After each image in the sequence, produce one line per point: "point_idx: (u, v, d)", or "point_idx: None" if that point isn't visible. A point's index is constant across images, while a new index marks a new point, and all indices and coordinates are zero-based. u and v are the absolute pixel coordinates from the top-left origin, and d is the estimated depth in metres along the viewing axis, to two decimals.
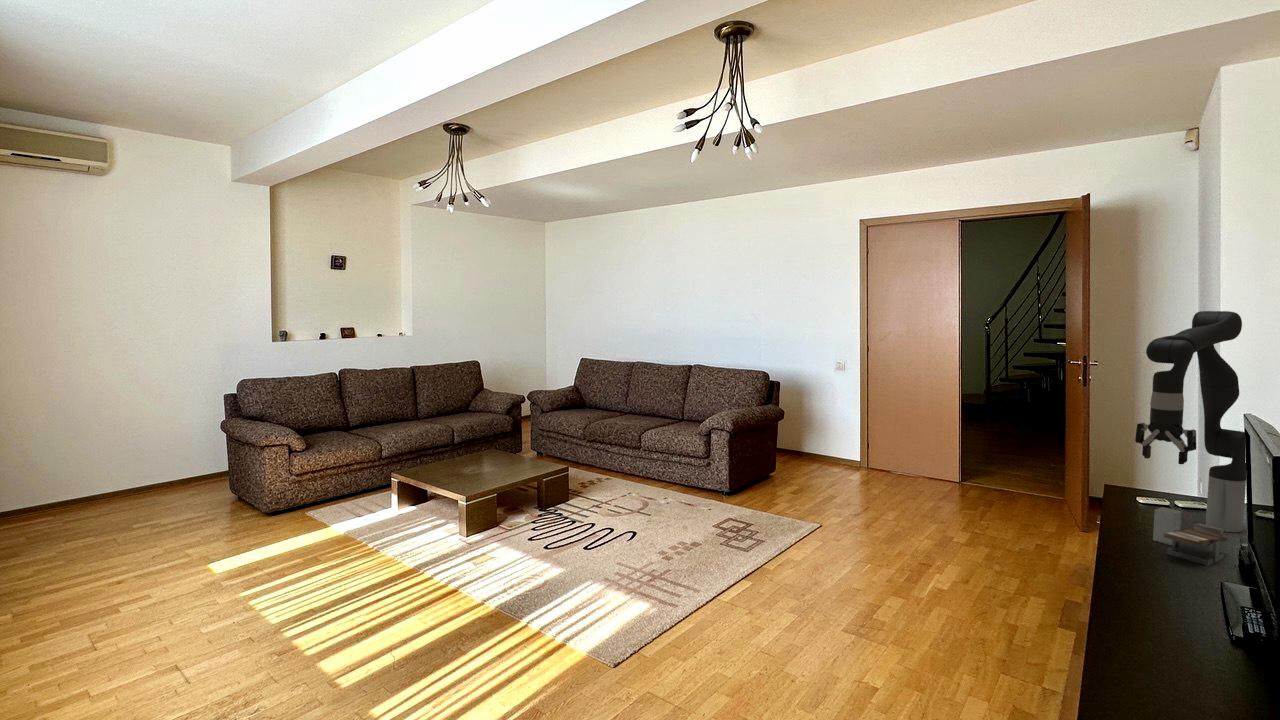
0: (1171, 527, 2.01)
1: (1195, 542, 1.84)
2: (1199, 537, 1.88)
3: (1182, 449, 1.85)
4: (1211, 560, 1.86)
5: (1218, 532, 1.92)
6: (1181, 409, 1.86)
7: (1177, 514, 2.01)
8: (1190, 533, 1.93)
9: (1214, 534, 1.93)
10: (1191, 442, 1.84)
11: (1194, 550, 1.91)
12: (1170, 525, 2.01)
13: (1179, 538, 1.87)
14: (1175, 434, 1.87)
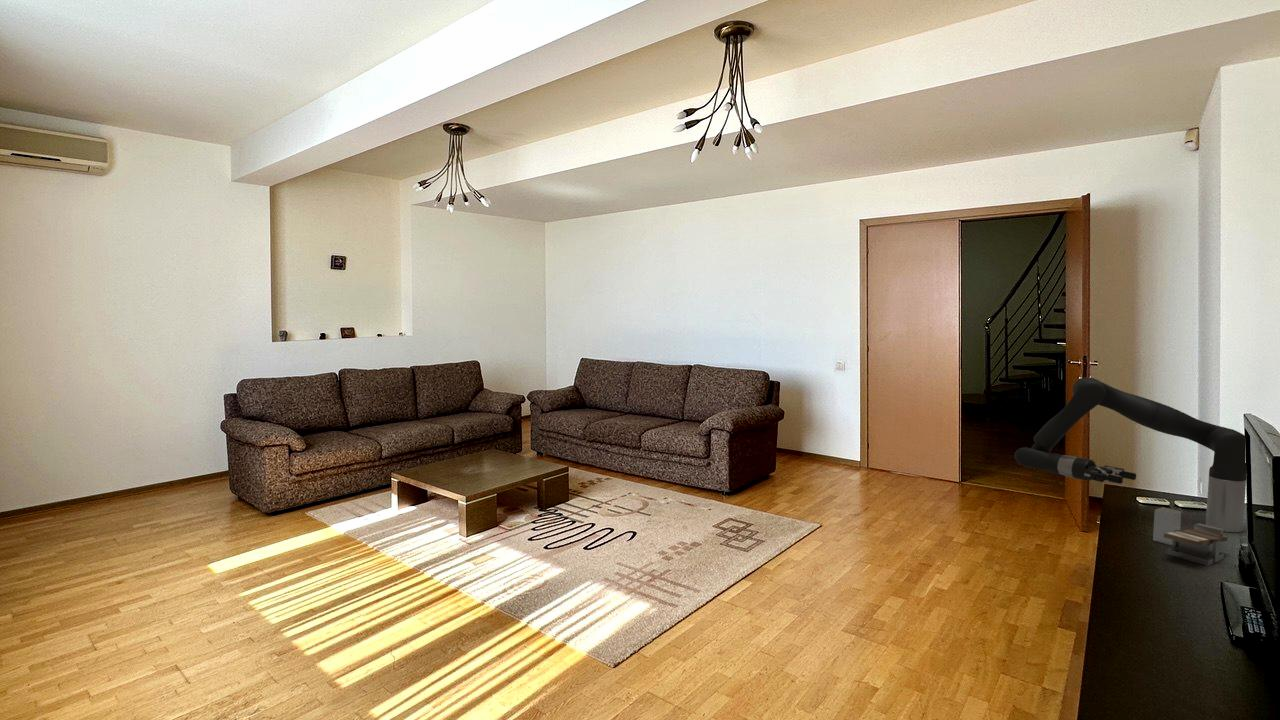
0: (1171, 527, 2.01)
1: (1195, 542, 1.84)
2: (1199, 537, 1.88)
3: (1105, 481, 2.14)
4: (1211, 560, 1.86)
5: (1218, 532, 1.92)
6: (1070, 470, 2.24)
7: (1177, 514, 2.01)
8: (1190, 533, 1.93)
9: (1214, 534, 1.93)
10: None
11: (1194, 550, 1.91)
12: (1170, 525, 2.01)
13: (1179, 538, 1.87)
14: None
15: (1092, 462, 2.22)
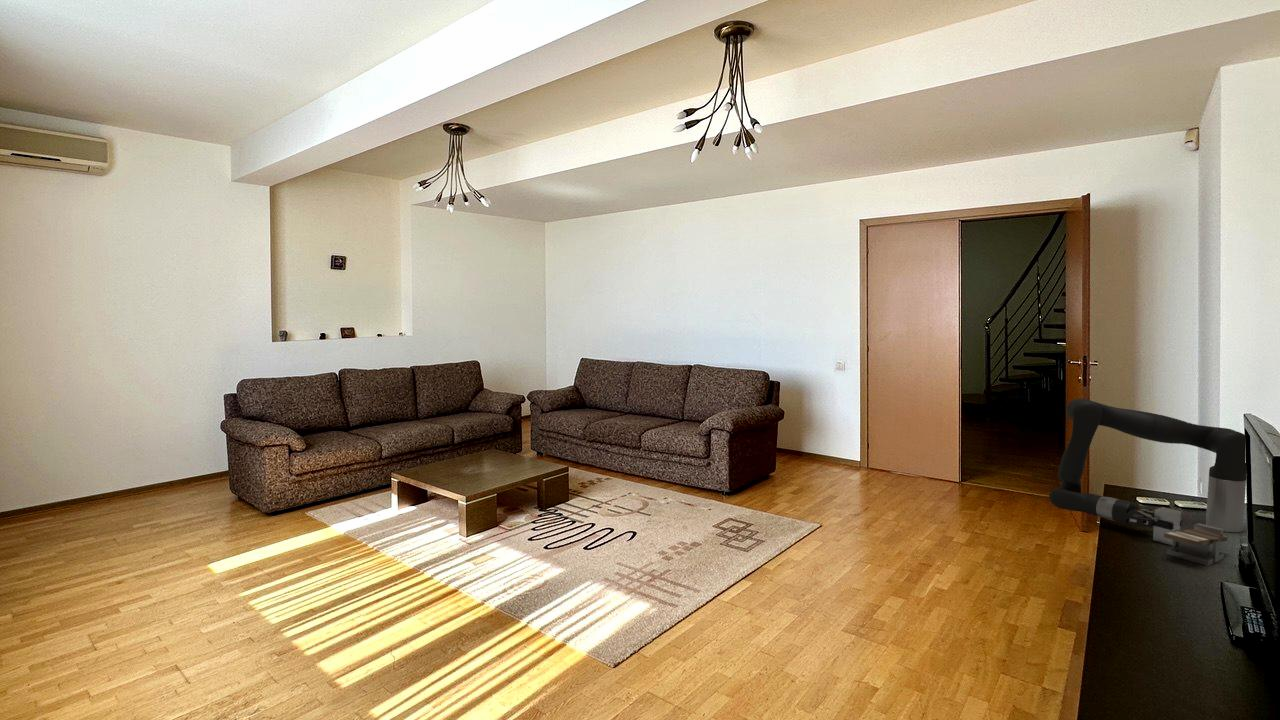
0: None
1: (1195, 542, 1.84)
2: (1199, 537, 1.88)
3: (1154, 526, 2.04)
4: (1211, 560, 1.86)
5: (1218, 532, 1.92)
6: (1110, 513, 2.14)
7: (1177, 514, 2.01)
8: (1190, 533, 1.93)
9: (1214, 534, 1.93)
10: (1142, 525, 2.05)
11: (1194, 550, 1.91)
12: None
13: (1179, 538, 1.87)
14: None
15: (1133, 505, 2.12)
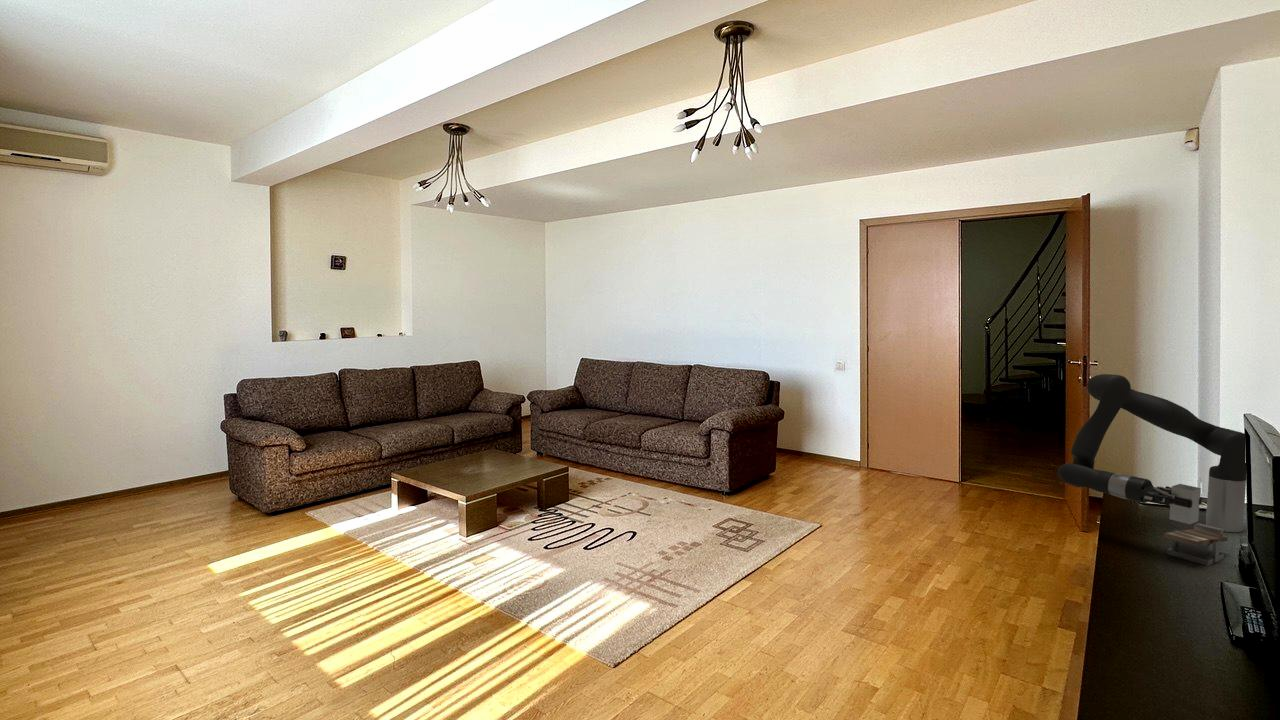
0: None
1: (1195, 542, 1.84)
2: (1199, 537, 1.88)
3: (1171, 504, 1.89)
4: (1211, 560, 1.86)
5: (1218, 532, 1.92)
6: (1124, 490, 2.00)
7: (1196, 491, 1.86)
8: (1190, 533, 1.93)
9: (1214, 534, 1.93)
10: (1158, 503, 1.90)
11: (1194, 550, 1.91)
12: None
13: (1179, 538, 1.87)
14: None
15: (1149, 482, 1.97)
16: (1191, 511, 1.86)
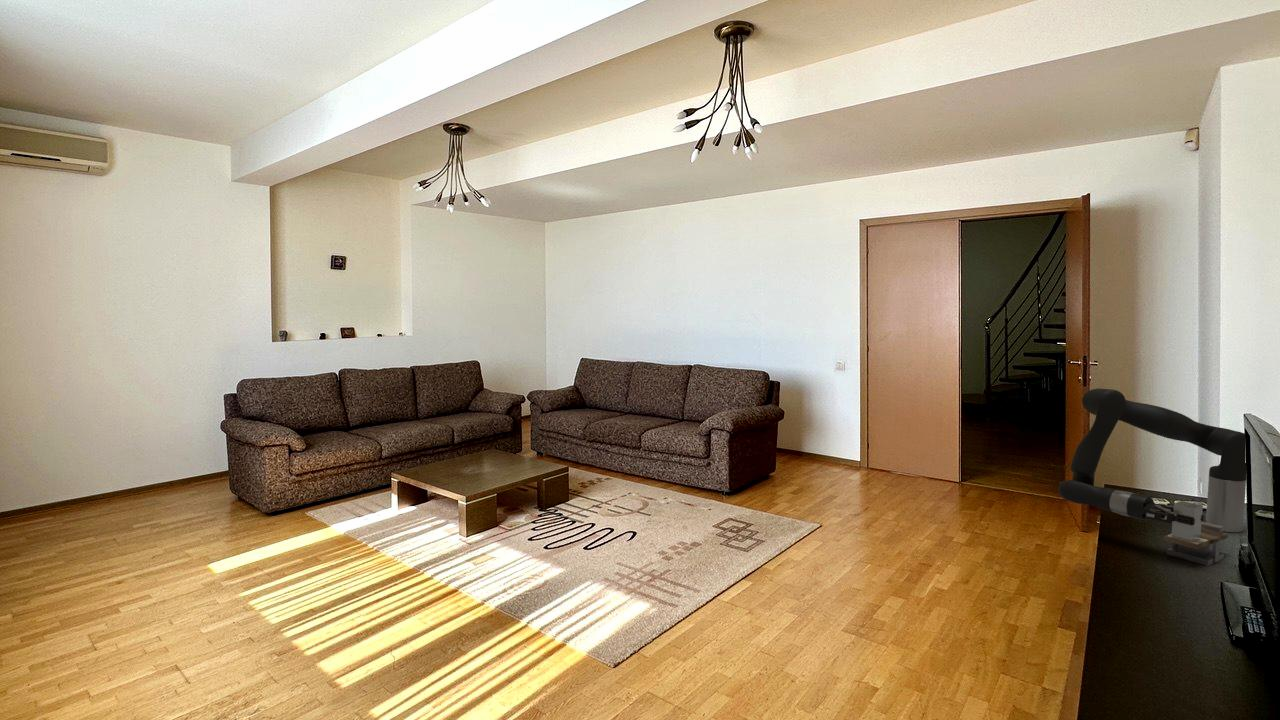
0: None
1: (1195, 545, 1.84)
2: None
3: None
4: (1211, 560, 1.86)
5: (1218, 530, 1.92)
6: (1125, 507, 1.99)
7: (1198, 508, 1.85)
8: None
9: (1214, 532, 1.93)
10: None
11: (1194, 550, 1.91)
12: None
13: (1179, 541, 1.87)
14: None
15: (1150, 499, 1.96)
16: (1194, 529, 1.85)
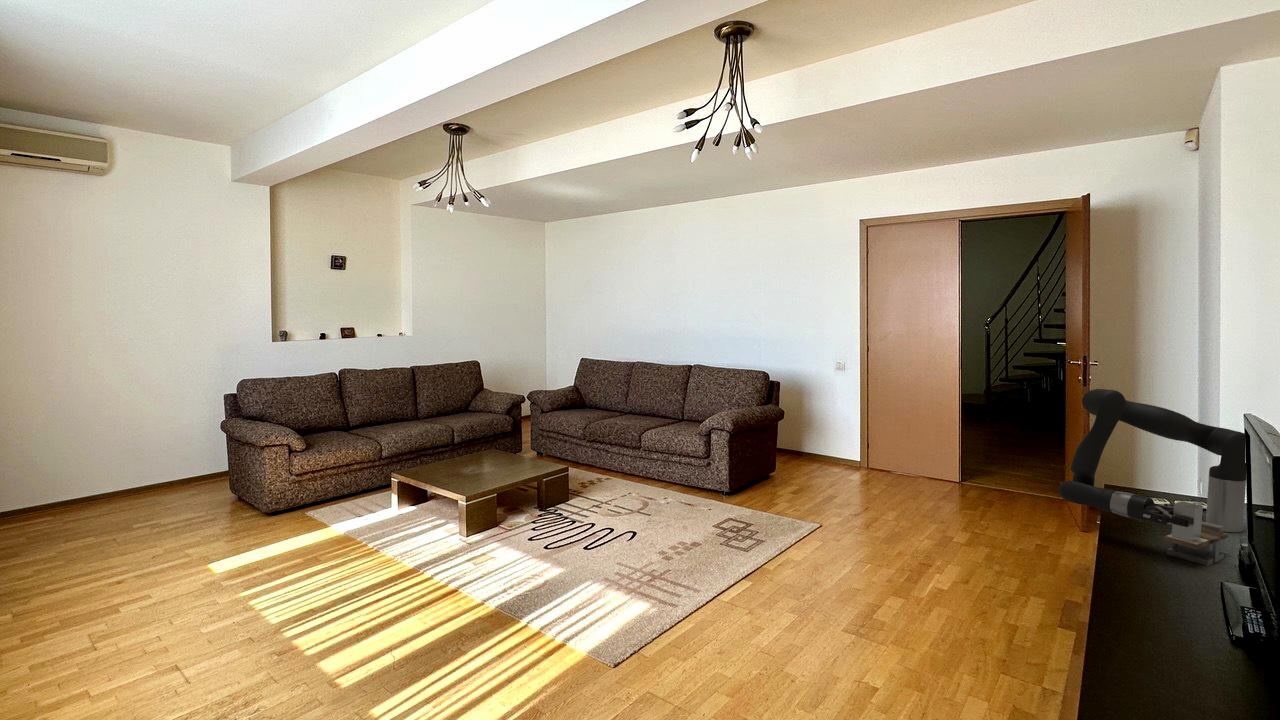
0: (1192, 522, 1.85)
1: (1195, 545, 1.84)
2: None
3: (1168, 523, 1.88)
4: (1211, 560, 1.86)
5: (1218, 530, 1.92)
6: (1126, 509, 1.99)
7: (1198, 508, 1.86)
8: None
9: (1214, 532, 1.93)
10: None
11: (1194, 550, 1.91)
12: (1191, 520, 1.85)
13: (1179, 541, 1.87)
14: None
15: (1151, 500, 1.96)
16: (1194, 529, 1.85)
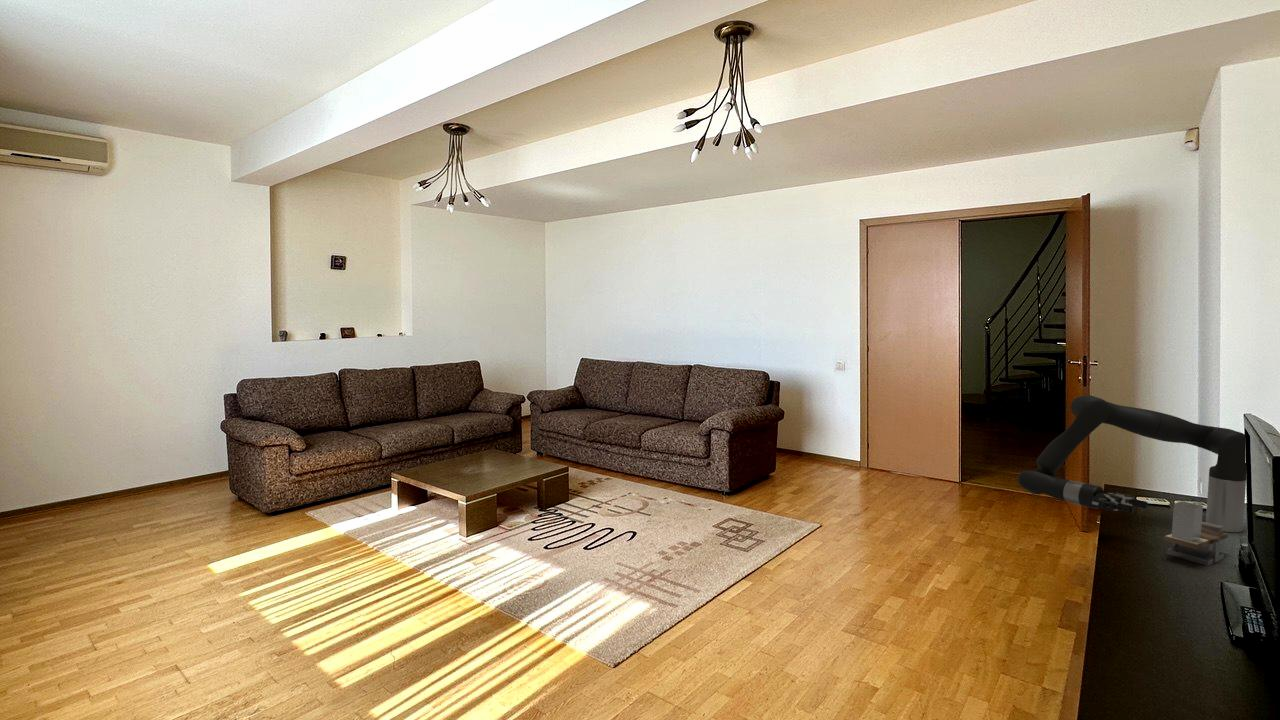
0: (1192, 522, 1.85)
1: (1195, 545, 1.84)
2: None
3: (1115, 510, 2.00)
4: (1211, 560, 1.86)
5: (1218, 530, 1.92)
6: (1077, 497, 2.11)
7: (1198, 508, 1.86)
8: None
9: (1214, 532, 1.93)
10: (1103, 508, 2.02)
11: (1194, 550, 1.91)
12: (1191, 520, 1.85)
13: (1179, 541, 1.87)
14: None
15: (1100, 489, 2.09)
16: (1194, 529, 1.85)
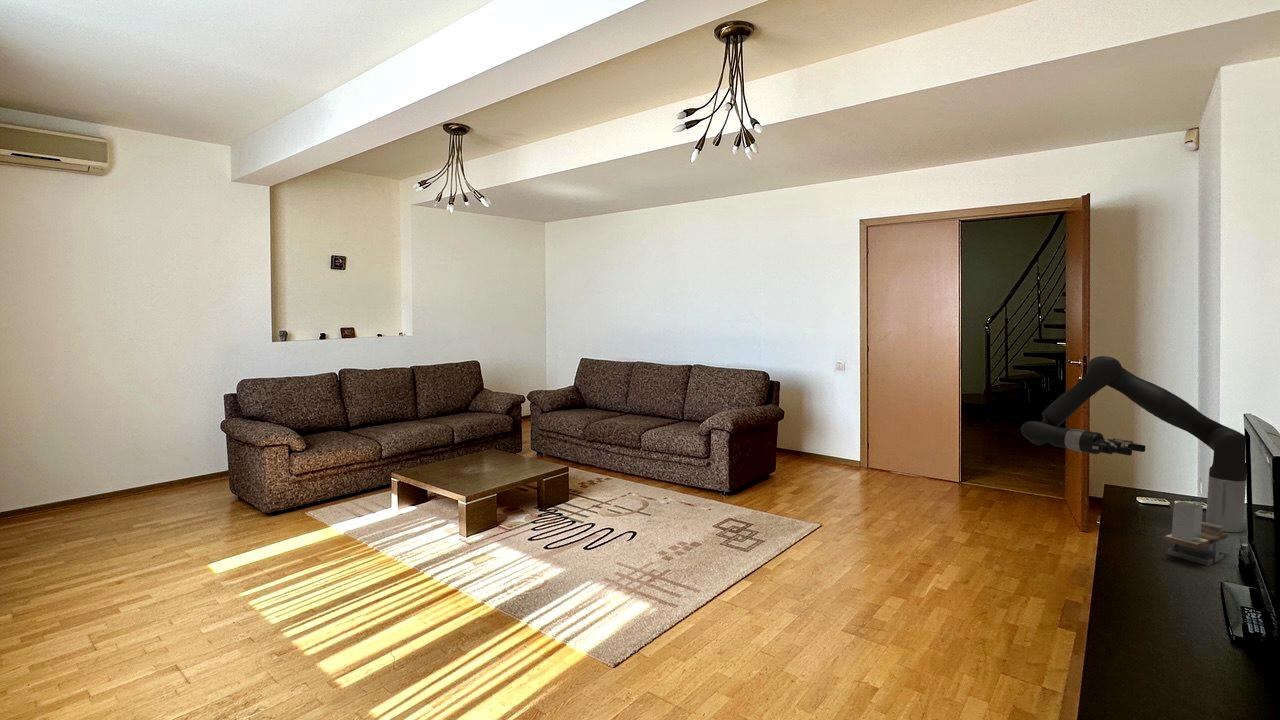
0: (1192, 522, 1.85)
1: (1195, 545, 1.84)
2: None
3: (1114, 453, 2.09)
4: (1211, 560, 1.86)
5: (1218, 530, 1.92)
6: (1078, 443, 2.20)
7: (1198, 508, 1.86)
8: None
9: (1214, 532, 1.93)
10: (1102, 452, 2.11)
11: (1194, 550, 1.91)
12: (1191, 520, 1.85)
13: (1179, 541, 1.87)
14: None
15: (1100, 435, 2.18)
16: (1194, 529, 1.85)
